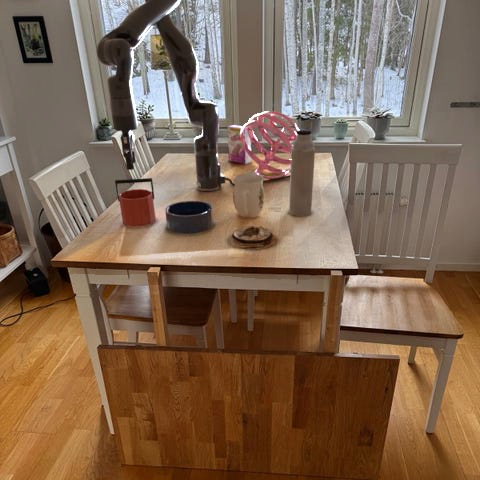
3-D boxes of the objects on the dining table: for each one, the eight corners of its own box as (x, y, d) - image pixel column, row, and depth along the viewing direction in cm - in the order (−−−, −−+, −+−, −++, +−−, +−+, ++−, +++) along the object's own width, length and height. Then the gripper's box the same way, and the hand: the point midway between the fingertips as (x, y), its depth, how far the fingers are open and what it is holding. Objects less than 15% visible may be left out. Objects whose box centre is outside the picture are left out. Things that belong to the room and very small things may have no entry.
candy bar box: (228, 161, 235) (226, 126, 226) (234, 159, 238) (233, 124, 229) (245, 164, 229) (244, 128, 220) (251, 162, 232) (251, 127, 223)
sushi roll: (244, 253, 141) (243, 240, 139) (221, 237, 152) (220, 225, 150) (285, 242, 147) (285, 230, 145) (260, 228, 158) (260, 216, 156)
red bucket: (123, 217, 170) (116, 175, 162) (157, 215, 171) (152, 173, 163) (120, 229, 160) (113, 185, 152) (156, 226, 162) (151, 182, 153)
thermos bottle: (292, 207, 175) (295, 127, 160) (313, 209, 173) (318, 128, 158) (286, 215, 169) (289, 132, 153) (308, 217, 166) (313, 133, 151)
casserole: (202, 215, 170) (201, 198, 166) (220, 229, 158) (219, 211, 154) (161, 223, 164) (159, 205, 161) (176, 238, 152) (174, 219, 149)
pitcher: (228, 224, 162) (227, 184, 154) (237, 207, 177) (236, 170, 169) (260, 226, 160) (260, 185, 153) (266, 208, 175) (267, 170, 168)
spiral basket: (255, 141, 182) (291, 91, 188) (214, 147, 204) (248, 103, 210) (292, 192, 199) (324, 145, 205) (251, 193, 220) (281, 150, 226)
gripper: (134, 116, 141) (141, 171, 150) (137, 108, 153) (144, 160, 162) (108, 117, 140) (117, 172, 149) (113, 109, 152) (121, 161, 161)
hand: (131, 166), depth 155 cm, fingers open, 8 cm apart
